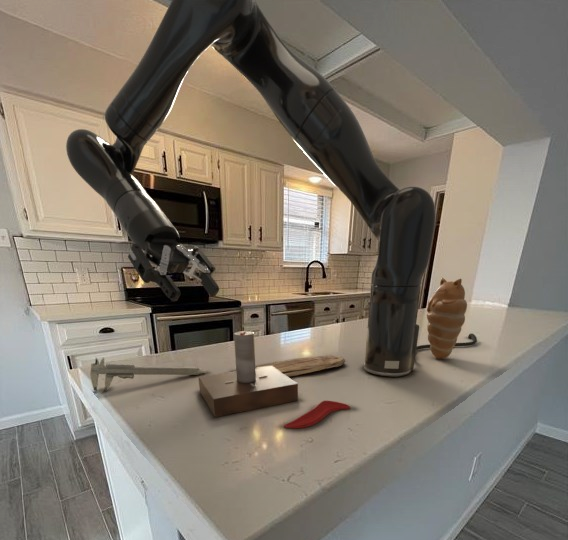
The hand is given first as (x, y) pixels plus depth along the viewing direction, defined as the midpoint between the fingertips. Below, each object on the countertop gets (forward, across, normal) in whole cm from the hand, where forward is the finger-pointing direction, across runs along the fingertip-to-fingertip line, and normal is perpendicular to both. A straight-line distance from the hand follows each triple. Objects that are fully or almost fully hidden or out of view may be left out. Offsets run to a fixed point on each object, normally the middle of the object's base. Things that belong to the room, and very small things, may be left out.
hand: (197, 295), depth 55 cm
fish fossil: (+17, +16, +6) cm, 25 cm away
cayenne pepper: (+29, 0, -5) cm, 29 cm away
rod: (+17, 0, +2) cm, 17 cm away
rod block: (+19, 0, +4) cm, 19 cm away
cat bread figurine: (+35, +42, -12) cm, 56 cm away
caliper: (+5, -4, +19) cm, 20 cm away
